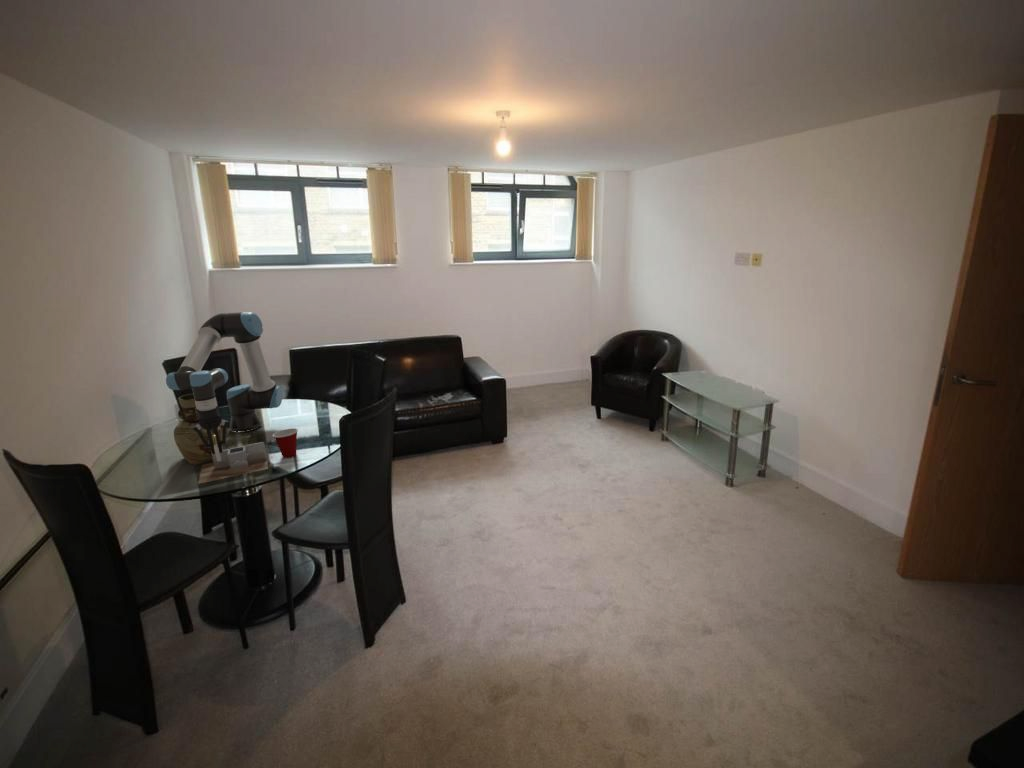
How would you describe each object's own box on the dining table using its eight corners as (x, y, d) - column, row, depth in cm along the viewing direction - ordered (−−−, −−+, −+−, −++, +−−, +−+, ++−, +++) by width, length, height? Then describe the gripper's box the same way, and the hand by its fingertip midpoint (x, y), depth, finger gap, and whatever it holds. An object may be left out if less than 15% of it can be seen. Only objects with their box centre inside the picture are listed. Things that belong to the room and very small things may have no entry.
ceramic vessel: (226, 462, 221) (212, 400, 213) (174, 469, 216) (157, 406, 207) (237, 446, 239) (224, 388, 230) (188, 452, 234) (174, 393, 225)
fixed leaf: (231, 465, 216) (228, 448, 213) (267, 458, 222) (263, 441, 219) (231, 471, 210) (227, 454, 208) (267, 463, 216) (264, 446, 214)
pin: (216, 464, 217) (209, 435, 213) (224, 462, 219) (217, 433, 215) (215, 467, 215) (209, 437, 210) (224, 465, 216) (217, 436, 212)
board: (202, 467, 217) (202, 465, 217) (267, 454, 229) (266, 452, 228) (198, 486, 200) (198, 483, 200) (268, 471, 211) (268, 468, 211)
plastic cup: (292, 449, 234) (288, 425, 230) (306, 453, 228) (302, 429, 225) (271, 457, 225) (266, 433, 222) (285, 462, 219) (281, 437, 216)
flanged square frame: (215, 468, 213) (211, 452, 210) (248, 461, 218) (245, 445, 216) (214, 474, 207) (210, 457, 205) (248, 467, 213) (245, 451, 210)
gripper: (188, 413, 196) (201, 466, 203) (225, 407, 202) (236, 459, 209) (189, 408, 203) (202, 460, 209) (225, 402, 208) (236, 453, 215)
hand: (219, 459), depth 209 cm, fingers closed
